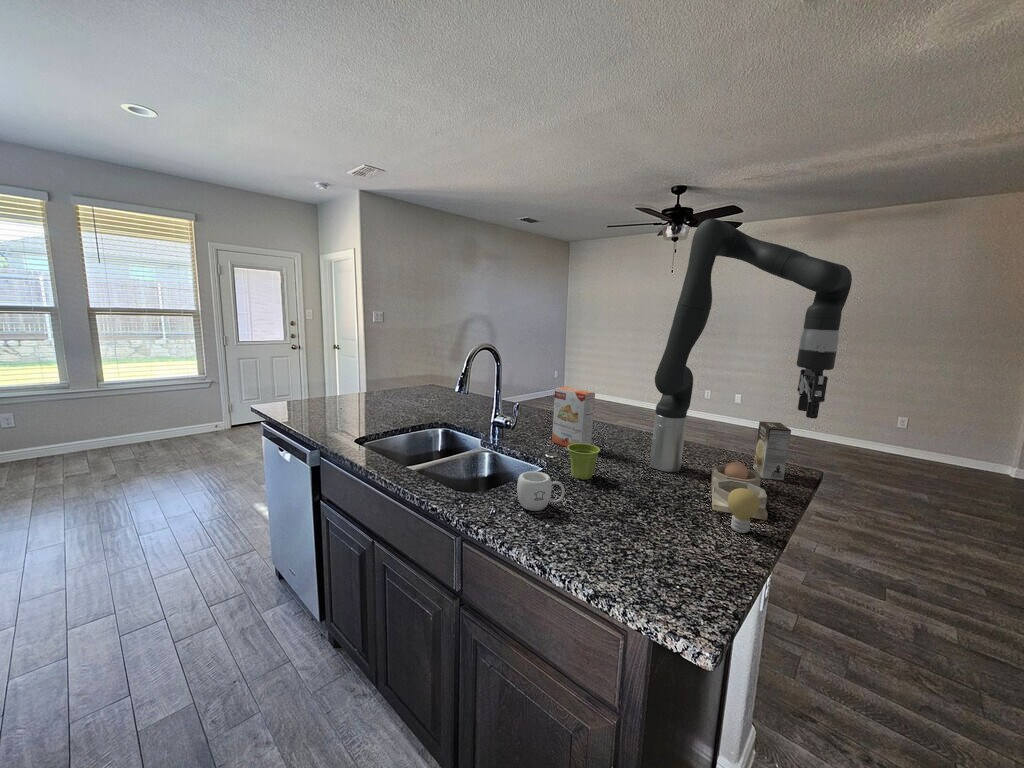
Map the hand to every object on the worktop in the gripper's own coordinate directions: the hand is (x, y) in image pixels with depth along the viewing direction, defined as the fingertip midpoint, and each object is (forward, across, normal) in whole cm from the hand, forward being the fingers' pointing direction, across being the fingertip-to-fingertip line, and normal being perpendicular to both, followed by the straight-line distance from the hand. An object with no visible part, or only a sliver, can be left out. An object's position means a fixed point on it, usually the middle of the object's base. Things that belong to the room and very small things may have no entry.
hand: (806, 414), depth 108 cm
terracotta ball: (+21, -10, -12) cm, 26 cm away
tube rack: (+26, -4, -12) cm, 29 cm away
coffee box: (+26, -27, -1) cm, 38 cm away
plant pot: (+26, +2, -54) cm, 60 cm away
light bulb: (+26, +18, -14) cm, 34 cm away
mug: (+26, +27, -59) cm, 70 cm away
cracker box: (+26, -26, -64) cm, 74 cm away
